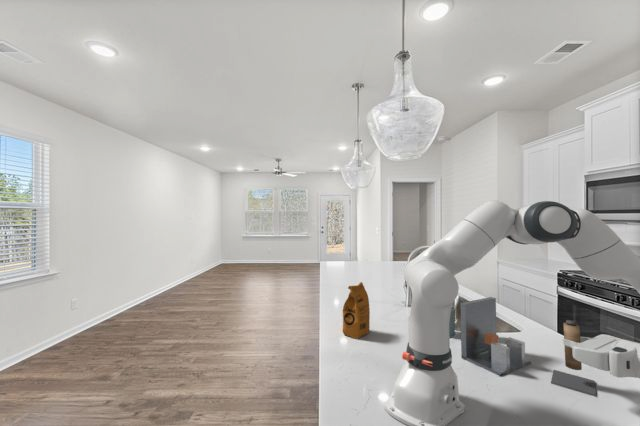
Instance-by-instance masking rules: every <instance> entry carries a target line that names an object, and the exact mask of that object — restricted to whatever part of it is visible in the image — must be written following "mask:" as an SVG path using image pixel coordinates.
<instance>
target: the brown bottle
mask: <svg viewBox="0 0 640 426" xmlns="http://www.w3.org/2000/svg"><path fill="white" fill-rule="evenodd" d="M580 328H581V327H580V325H579V324H578V323H577V321H575V320H570V319H567V320H565V322H563V340H564V339H571V340H573V341H574V342H576V343H580V337H581V332H580V331H581V330H580ZM563 345H564V344H563ZM564 363H565V367H566V368H568V369H571V370H575V371H582V369H583V368H582V367H583V366H582V363H581V362H579V361H577V360H576V359H574V358H573V353H572V348H571V347H569V346H566V345H564Z"/></svg>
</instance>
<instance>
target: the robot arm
mask: <svg viewBox="0 0 640 426" xmlns="http://www.w3.org/2000/svg"><path fill="white" fill-rule="evenodd" d="M504 239H508V240H509V241H512V242H514V243H517V244H521V245H542V244H543V245H545V244H548V243H549V244H550V243H557V244H559V246H561V247H562V248H563V249H564V250H565V252H566V253H567V254H568V255H569V257H570V258H571V259H572V260H573V262H574V263H575V264H576V266H577V267H578V268H579V269H580V270H581V271H582V272H584V273H585V274H586V275H587V276H589V277H591V278H594V279H597V280H601V281H602V280H603V281H614V280H615V281H616V280H623V281H625V282H626V283H627V284H629V285H631V287H632V288H633V289H634V290H635V291H637V293H639V295H640V256H639V255H637V254H636V253H635V252H633V250H631V248H629V247H628V245H627V244H626V243H625V242H624V241H623V240H622V239H621V238H620V236H618V234H617V233H616V232H615V231H614V230H613V229H612V228H611V227H610V226H609V225H608V224H606V223H605V222H604V220H602V219H601V218H600V217H599V216H597V215H595V213H593V212H592V211H590V210H588V209H584V208H578V209H577V208H576V209H571V208H569V207H568V206H566V205H565V204H563V203H560V202H558V201H557V202H556V201H552V200H551V201H550V200H548V201H547V200H543V201H537V202H535V203H532V204H528V205H523V206H521V207H519V208H515V209H514V208H511V207H510V206H509V205H508V204H506V203H504V202H503V201H499V200H496V199H495V200H488V201H486V202H485V203H483V204H481V205H480V206H478V207H477V208H475V209H474V210H472V211H471V212H470V213H469V214H467V215H466V216H465V217H463V219H462V220H460V221H459V222H458V223H457V224H456V225H455V226H453V228H452V229H451V230H449V232H447V234H445V235H444V236H443V237H441V238H440V239H439V240H437V241H436V242H435V243H434V244H432V245H431V246H429V247H428V248H426V249H425V250H424V251H422V252H421V253H420V254H418V255H417V256H416V257H414V258H413V259H411V260H409V261H408V262H407V264H406V265H405V266H404V269H403V270H404V271H403V275H404V280H405V283H406V285H407V286H408V287H409V288H410V290H411V294H412V295H411V305H410V311H409V315H408V342H407V344H406V350H405V351H403V352H402V354H401V358H402V360H404V363H403V365H402V367H401V369H400V372H399V373H398V376H397V378H396V381H395V383H394V387H393V389H392V392H391V394H390V396H388V398H387V400H386V401H385V404H384V410H385V411H386V412H387V414H388V415H390V416H391V417H393V418H394V419H395V420H397V421H399V422H401V423H403V424H404V425H406V426H447V425H448V424H449V423H451V422H452V421H454V420H455V419H456V418H457V417H459V416H460V415H461V414H462V413H464V412H465V411H466V407H465V404H464V403H463V402H462V401H461V400H460V394H459V392H460V391H459V384H458V383H459V381H458V375H457V373H456V372H455V370H454V369H453V367H452V362H453V355H452V349H451V347H450V342H451V341H450V337H449V323H450V315H451V310H452V306H454V301H455V300H457V297H458V295H459V289H460V287H459V282H458V280H457V278H456V277H455V276H456V275H457V274H459V273H461V272H462V271H464V270H467V269H470V268H473V267H475V265H477V264H478V263H479V261H481V260H482V259H483V258H484V257H485V256H486V255H487V254H489V252H490V251H492V250H493V249H494V248H495V247H496V246H497V245H498V244H499V243H500V242H502V240H504ZM562 342H563V345H566V346H569V347H571V348H572V353H573V358H574V359H576V360H577V361H579V362H581V364H584V365H587V366H589V367H593V368H595V369H597V370H601V371H604V372H609V374H610V375H611V376H613V377H616V378H620V379H621V378H634V379H636V378H638V379H640V342H635V341H633V340H627V339H623V338H619V337H616V336H613V335H610V334H603V333H601V334H598V335H596V336H593V337H587V336H580V343H576V342H574V341H573V340H571V339H564V338H563V341H562Z"/></svg>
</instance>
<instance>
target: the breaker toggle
mask: <svg viewBox="0 0 640 426" xmlns="http://www.w3.org/2000/svg"><path fill="white" fill-rule="evenodd" d="M493 342H496V343H498V344H499V335H498V334H497V335H495V334H492V333H487V334H485V343H486V344H488V351H489V355H490V356H491V343H493Z"/></svg>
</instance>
